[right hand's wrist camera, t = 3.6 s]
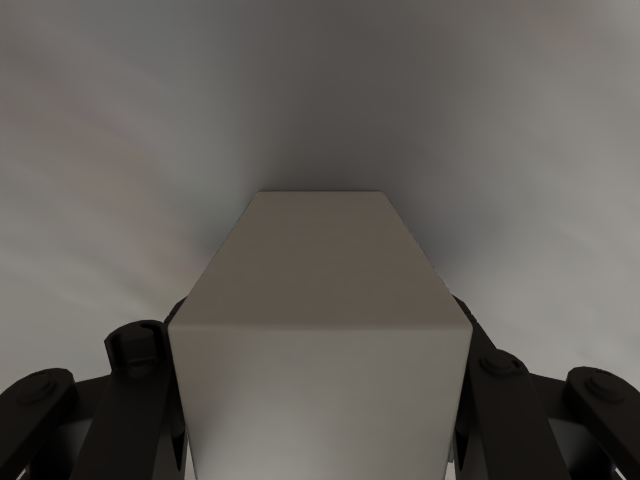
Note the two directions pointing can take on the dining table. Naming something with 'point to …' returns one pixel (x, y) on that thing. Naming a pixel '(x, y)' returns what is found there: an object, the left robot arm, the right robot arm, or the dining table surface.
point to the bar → (320, 347)
